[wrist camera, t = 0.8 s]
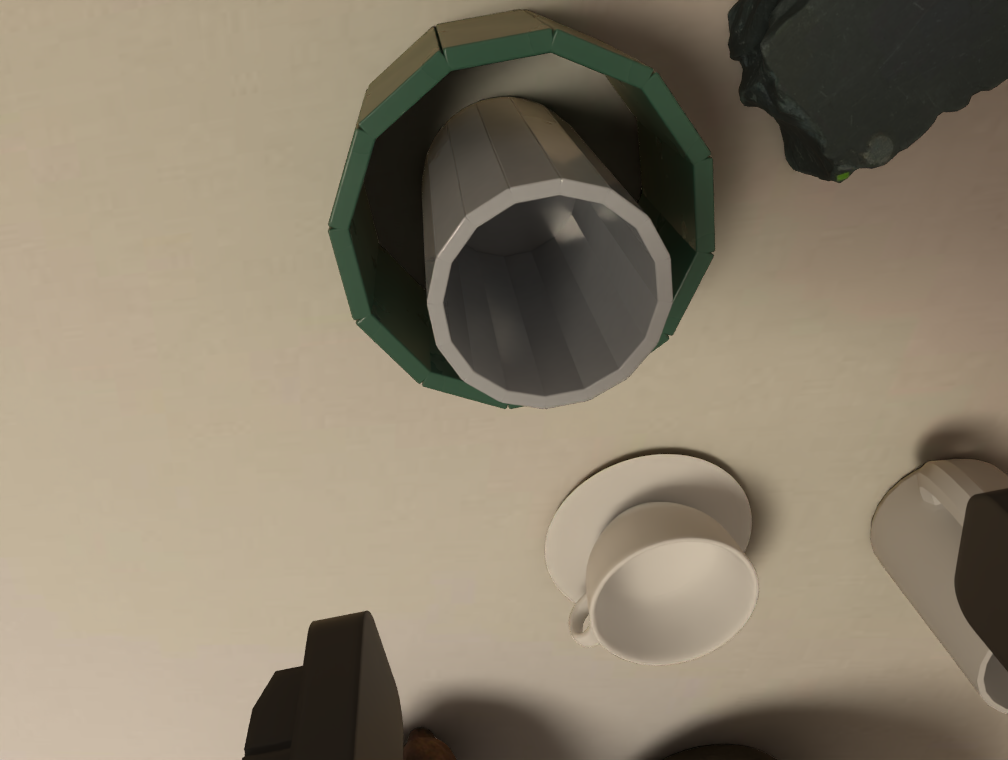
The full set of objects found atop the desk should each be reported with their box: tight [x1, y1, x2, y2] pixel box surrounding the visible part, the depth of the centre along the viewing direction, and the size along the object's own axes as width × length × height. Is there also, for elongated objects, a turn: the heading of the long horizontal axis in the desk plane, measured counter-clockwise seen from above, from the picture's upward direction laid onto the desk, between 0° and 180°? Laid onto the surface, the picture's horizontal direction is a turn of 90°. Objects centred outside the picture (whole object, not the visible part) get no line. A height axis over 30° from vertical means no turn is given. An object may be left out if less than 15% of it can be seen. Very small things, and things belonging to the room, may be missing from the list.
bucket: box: [328, 9, 715, 409], centre depth 26 cm, size 11×11×6 cm
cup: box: [870, 459, 1008, 714], centre depth 35 cm, size 7×10×9 cm
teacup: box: [545, 454, 759, 665], centre depth 36 cm, size 10×10×5 cm
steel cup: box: [421, 97, 673, 409], centre depth 24 cm, size 6×6×11 cm
